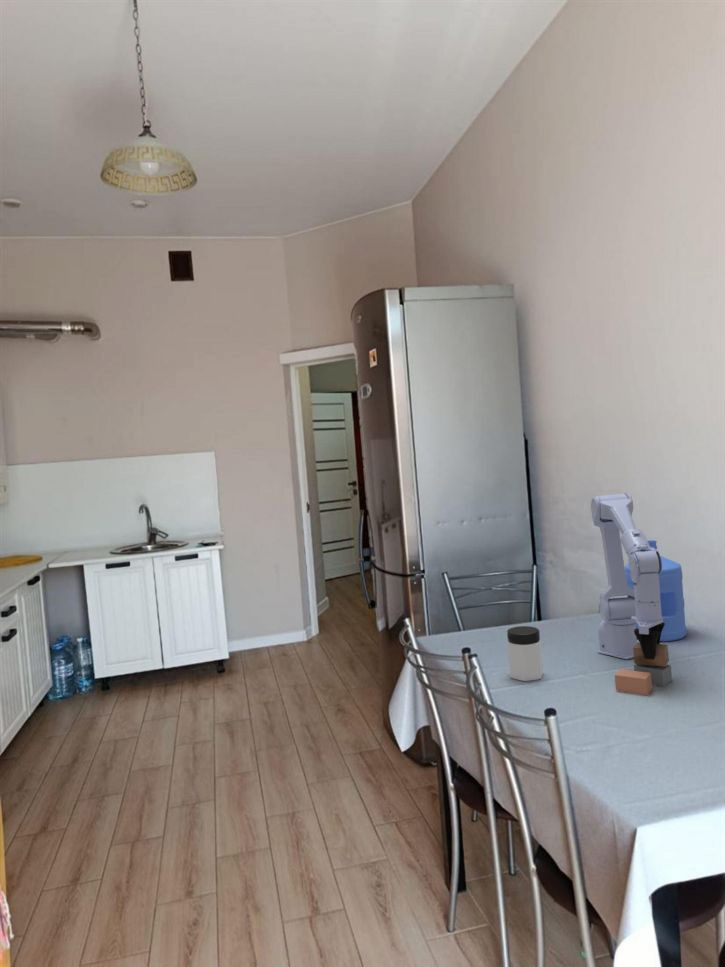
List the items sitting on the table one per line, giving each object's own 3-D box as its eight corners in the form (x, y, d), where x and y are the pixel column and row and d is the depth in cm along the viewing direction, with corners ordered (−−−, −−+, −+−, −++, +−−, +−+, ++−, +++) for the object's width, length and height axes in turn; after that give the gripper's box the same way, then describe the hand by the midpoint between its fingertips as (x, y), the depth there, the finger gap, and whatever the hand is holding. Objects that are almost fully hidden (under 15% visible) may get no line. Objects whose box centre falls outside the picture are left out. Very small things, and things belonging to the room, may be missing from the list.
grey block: (635, 681, 161) (633, 665, 161) (644, 676, 164) (642, 660, 164) (663, 687, 156) (662, 670, 156) (672, 681, 159) (671, 665, 159)
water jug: (643, 625, 207) (636, 536, 206) (695, 631, 195) (688, 538, 194) (619, 637, 196) (612, 544, 195) (673, 645, 185) (666, 546, 183)
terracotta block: (615, 691, 156) (614, 675, 156) (621, 685, 160) (620, 669, 159) (647, 696, 152) (645, 679, 152) (652, 689, 155) (650, 672, 155)
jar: (513, 669, 177) (509, 625, 177) (544, 670, 174) (541, 625, 174) (508, 681, 169) (504, 634, 168) (540, 682, 166) (536, 635, 165)
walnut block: (634, 663, 160) (633, 647, 160) (638, 658, 164) (636, 642, 164) (665, 666, 156) (664, 650, 156) (668, 660, 160) (667, 644, 160)
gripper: (636, 592, 168) (639, 645, 168) (623, 606, 155) (627, 663, 156) (666, 594, 164) (670, 647, 164) (655, 608, 152) (660, 666, 152)
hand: (651, 655), depth 160 cm, fingers closed on walnut block, 4 cm apart
